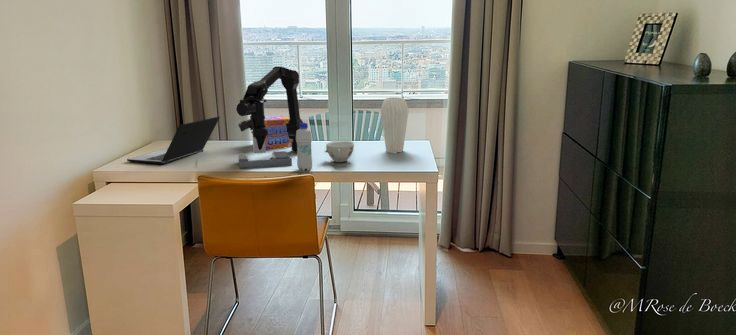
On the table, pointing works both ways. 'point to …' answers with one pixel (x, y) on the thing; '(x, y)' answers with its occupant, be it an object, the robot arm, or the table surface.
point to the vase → (394, 123)
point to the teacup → (340, 150)
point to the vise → (262, 162)
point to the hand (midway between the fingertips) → (259, 148)
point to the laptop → (182, 142)
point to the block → (255, 147)
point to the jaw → (280, 155)
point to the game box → (277, 132)
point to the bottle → (304, 147)
